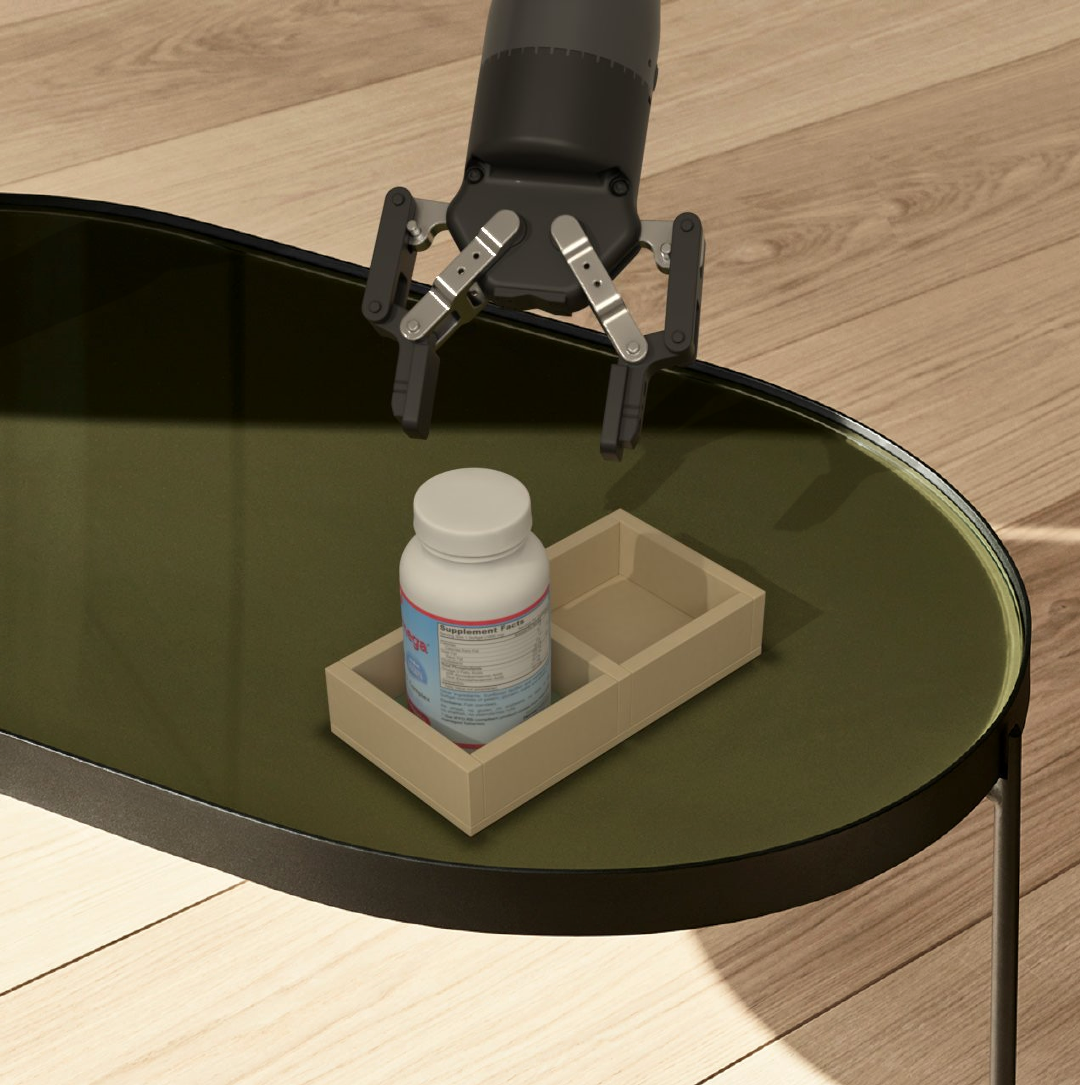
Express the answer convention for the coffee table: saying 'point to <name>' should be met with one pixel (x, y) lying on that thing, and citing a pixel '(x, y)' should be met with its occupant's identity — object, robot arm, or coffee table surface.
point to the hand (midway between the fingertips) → (512, 446)
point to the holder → (565, 671)
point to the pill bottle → (475, 608)
